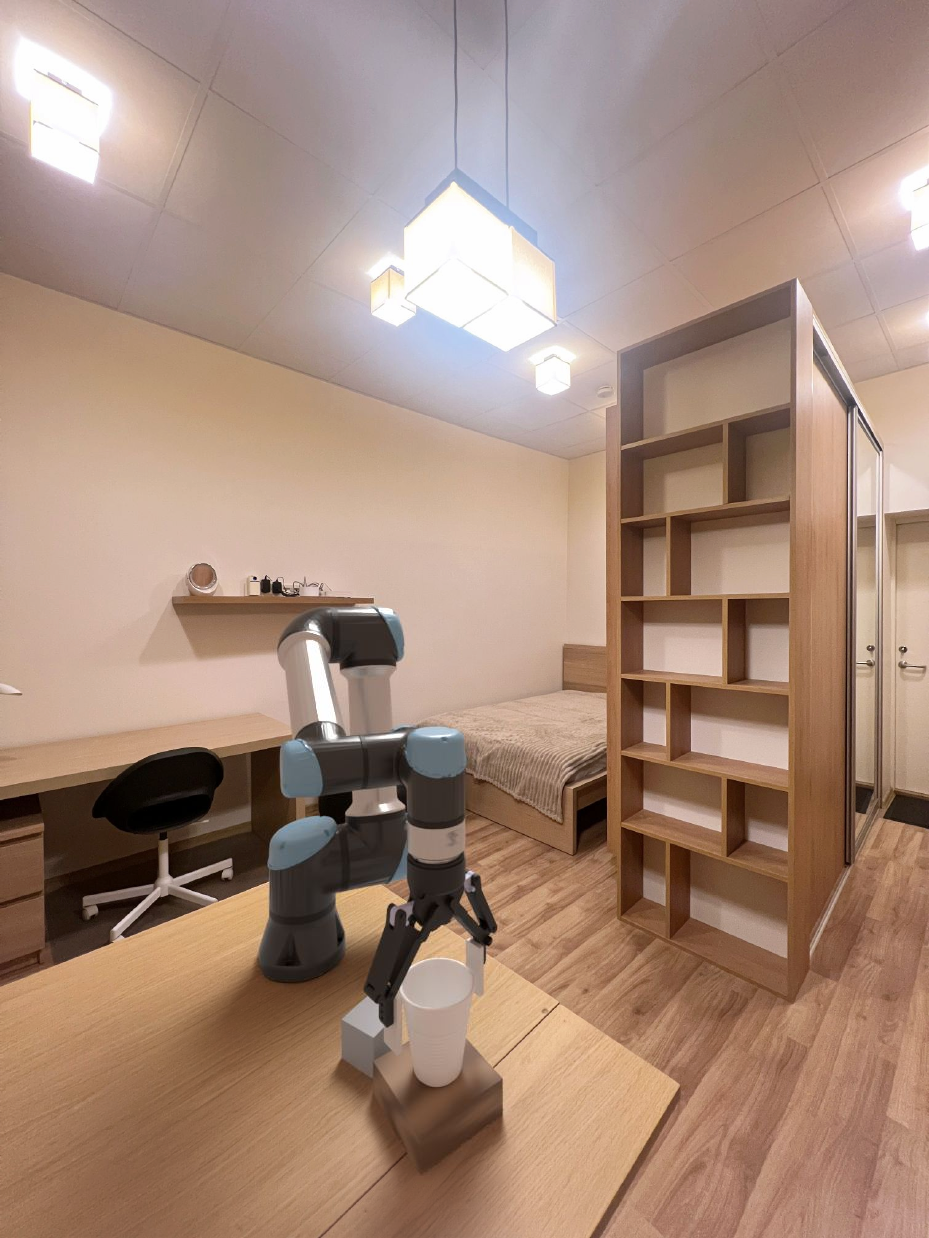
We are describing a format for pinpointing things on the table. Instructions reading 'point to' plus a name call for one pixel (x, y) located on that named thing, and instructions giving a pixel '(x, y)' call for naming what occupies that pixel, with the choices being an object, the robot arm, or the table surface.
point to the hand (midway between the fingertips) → (436, 1016)
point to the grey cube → (363, 1036)
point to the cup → (437, 1017)
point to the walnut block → (436, 1104)
